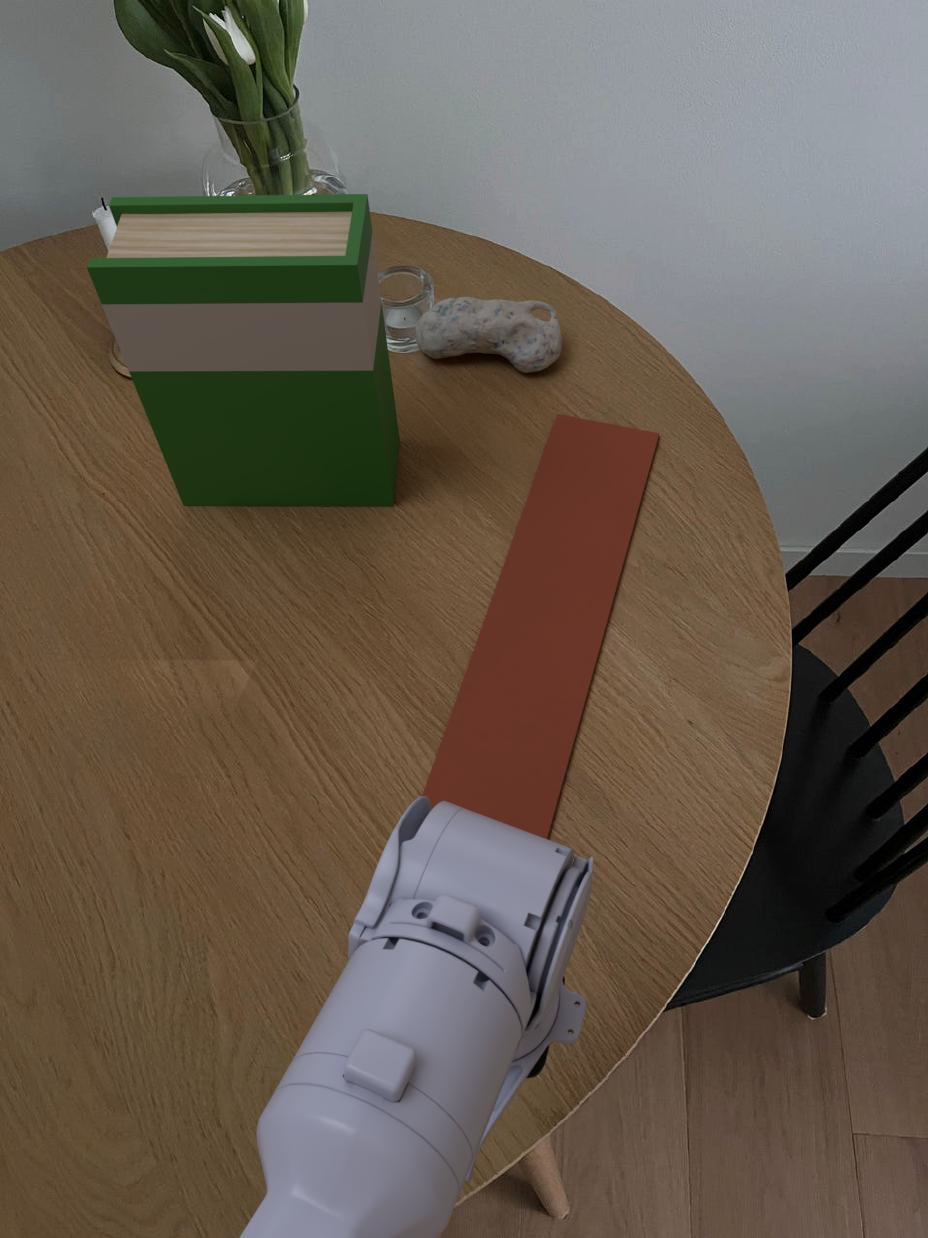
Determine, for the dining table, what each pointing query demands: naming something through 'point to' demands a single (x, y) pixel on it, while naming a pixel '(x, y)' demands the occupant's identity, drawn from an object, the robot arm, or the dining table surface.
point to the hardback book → (256, 345)
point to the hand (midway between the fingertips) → (500, 1032)
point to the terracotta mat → (544, 628)
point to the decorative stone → (491, 331)
